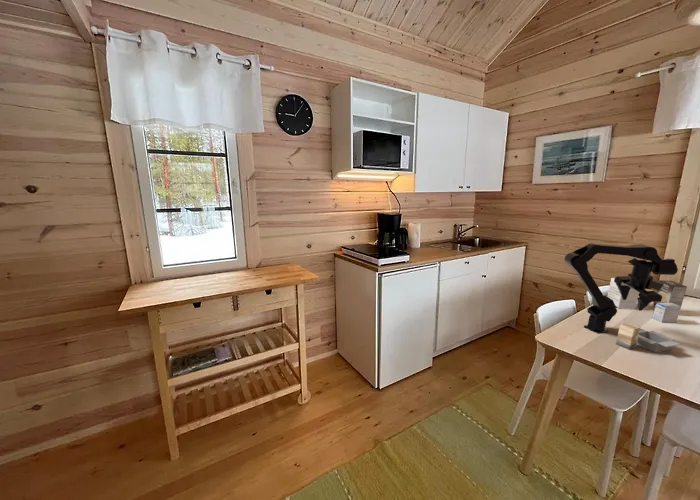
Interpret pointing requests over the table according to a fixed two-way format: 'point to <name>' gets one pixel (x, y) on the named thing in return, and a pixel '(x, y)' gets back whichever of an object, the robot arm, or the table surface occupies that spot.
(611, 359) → the table surface
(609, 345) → the table surface
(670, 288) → the coffee box
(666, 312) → the medicine box
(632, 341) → the box
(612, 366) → the table surface
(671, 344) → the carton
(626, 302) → the supplement box
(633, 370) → the table surface
